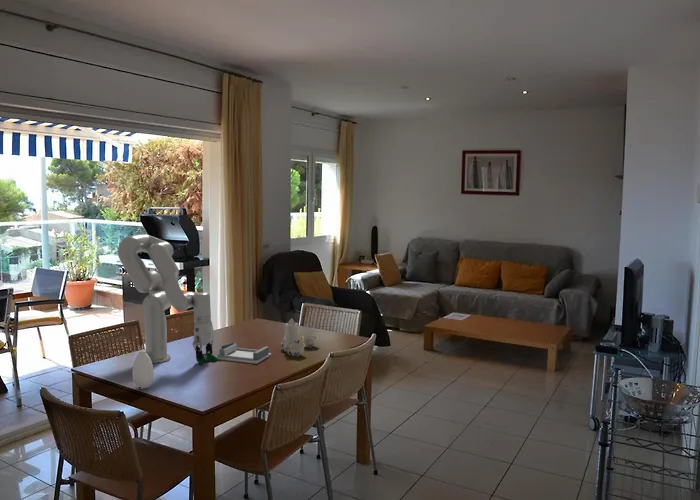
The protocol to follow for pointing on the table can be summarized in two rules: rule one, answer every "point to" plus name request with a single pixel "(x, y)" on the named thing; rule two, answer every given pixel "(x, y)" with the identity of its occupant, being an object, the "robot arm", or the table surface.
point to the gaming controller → (206, 358)
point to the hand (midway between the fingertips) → (204, 356)
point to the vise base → (246, 355)
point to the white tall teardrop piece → (142, 370)
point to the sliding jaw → (228, 348)
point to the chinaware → (296, 340)
